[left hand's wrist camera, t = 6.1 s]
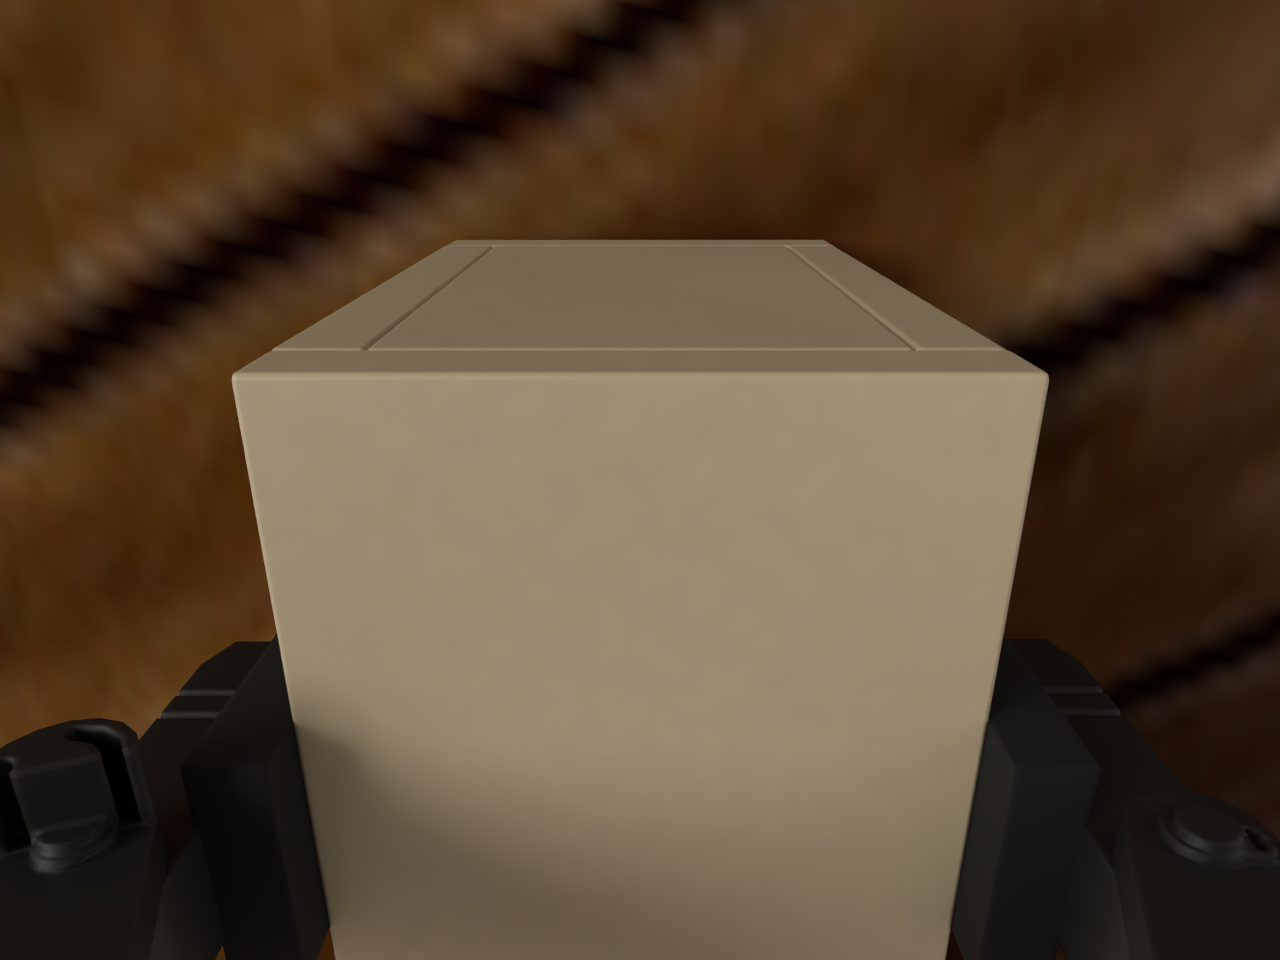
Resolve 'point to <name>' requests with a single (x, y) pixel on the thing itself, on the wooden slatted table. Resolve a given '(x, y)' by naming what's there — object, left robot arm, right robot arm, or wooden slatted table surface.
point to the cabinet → (640, 598)
